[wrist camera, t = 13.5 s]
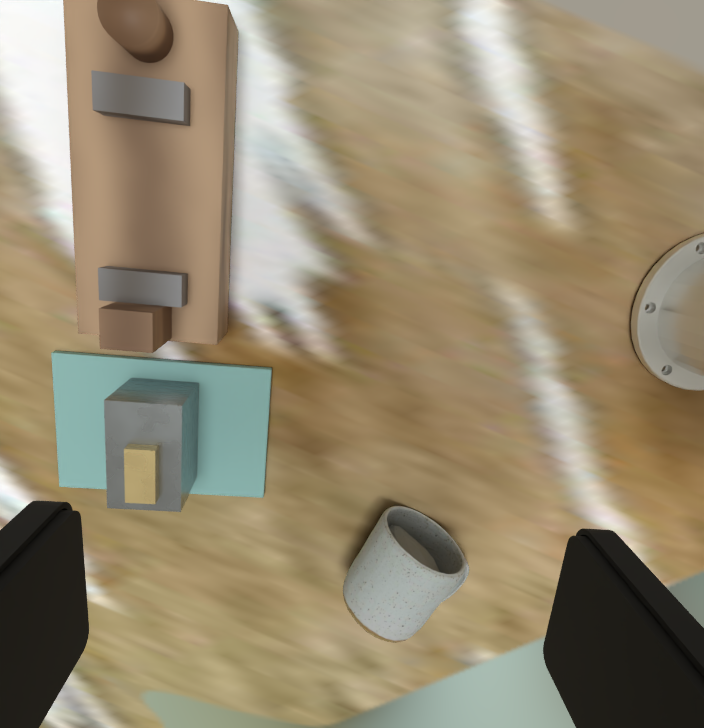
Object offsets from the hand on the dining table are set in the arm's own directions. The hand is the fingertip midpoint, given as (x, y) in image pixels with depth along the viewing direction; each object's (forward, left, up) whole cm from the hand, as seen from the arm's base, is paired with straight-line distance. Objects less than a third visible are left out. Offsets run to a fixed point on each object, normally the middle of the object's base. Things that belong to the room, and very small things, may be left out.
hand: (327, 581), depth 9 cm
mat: (+11, +10, -29) cm, 33 cm away
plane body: (+11, -8, -29) cm, 32 cm away
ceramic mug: (-10, +20, -29) cm, 37 cm away
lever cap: (+11, +10, -29) cm, 32 cm away
